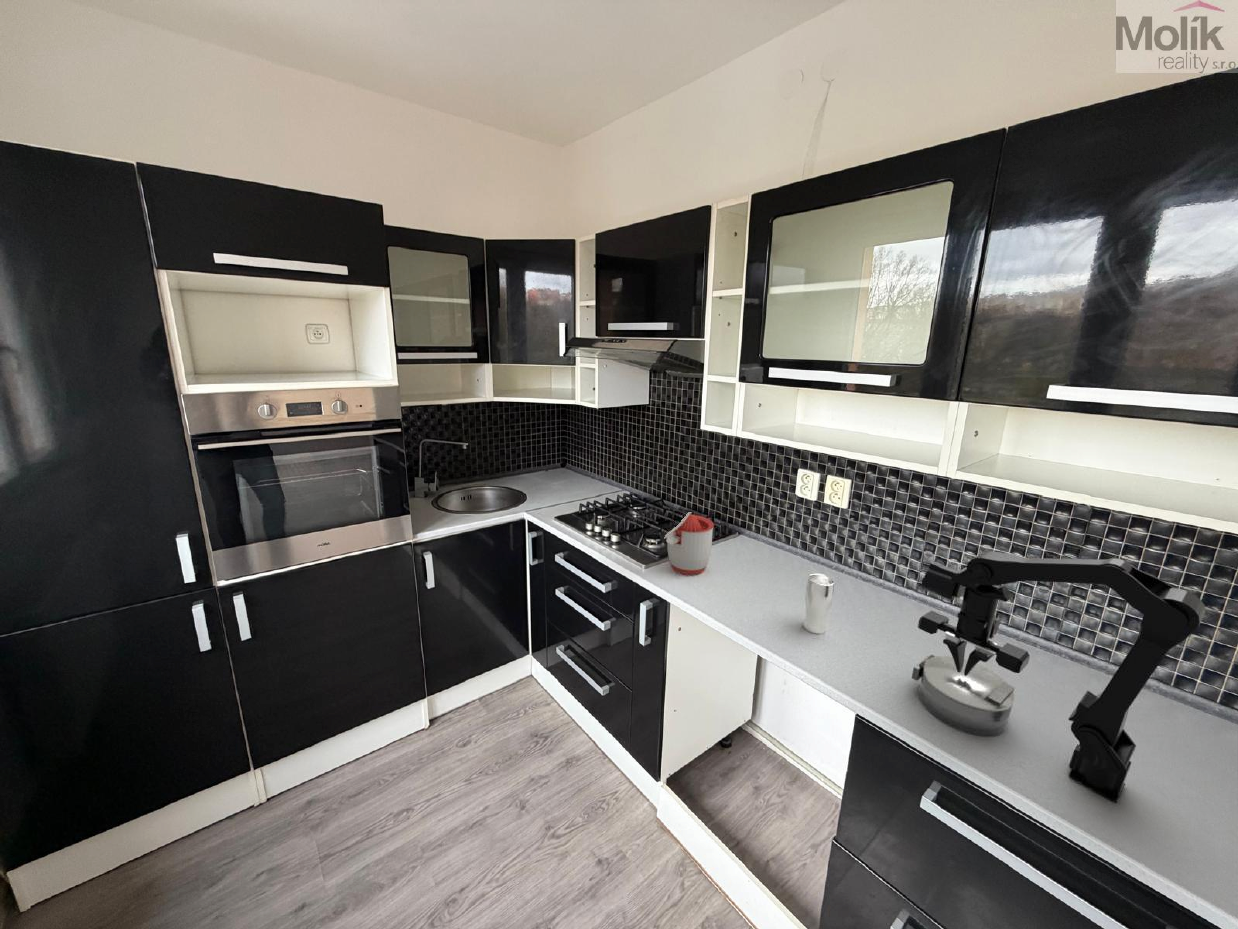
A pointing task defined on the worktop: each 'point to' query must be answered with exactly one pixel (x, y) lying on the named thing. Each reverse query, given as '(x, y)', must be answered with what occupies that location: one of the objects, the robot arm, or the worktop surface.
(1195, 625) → the robot arm
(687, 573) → the citrus juicer
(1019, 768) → the worktop surface
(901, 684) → the worktop surface
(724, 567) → the worktop surface
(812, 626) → the beer glass
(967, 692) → the lid
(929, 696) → the pot
